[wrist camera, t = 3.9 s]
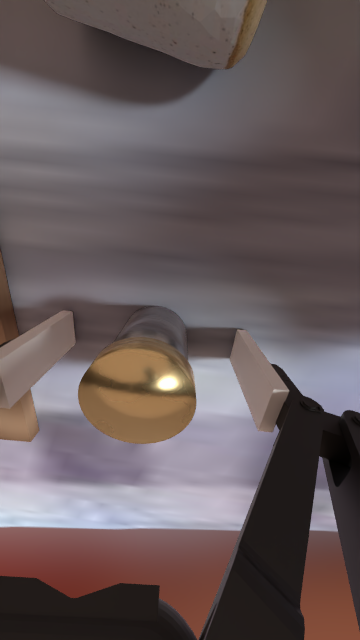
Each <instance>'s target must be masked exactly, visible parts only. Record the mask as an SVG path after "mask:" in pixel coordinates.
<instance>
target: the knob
mask: <svg viewBox="0 0 360 640" xmlns="http://www.w3.org/2000/svg"><path fill="white" fill-rule="evenodd" d="M78 399H79V404H80V407H81V410H82V411H83V413H84V415H85V416H86V418H87V419H88V420H89V422H90V423H91V424H92V425H93V426H95V427H96V428H97V429H98V430H100V431H101V432H103V433H104V434H106V435H108V436H110V437H112V438H115V439H117V440H121V441H124V442H129V443H137V444H147V443H156V442H160V441H164V440H167V439H169V438H171V437H173V436H175V435H177V434H178V433H180V432H181V431H182V430H183V429H185V428H186V426H187V425H188V424H189V423H190V421H191V420H192V418H193V416H194V413H195V409H196V392H195V381H194V374H193V371H192V368H191V366H190V364H189V362H188V356H187V335H186V328H185V325H184V323H183V321H182V320H181V318H180V317H179V316H178V315H177V314H176V313H174V312H173V311H171V310H169V309H167V308H164V307H160V306H149V307H145V308H142V309H140V310H138V311H136V312H135V313H134V314H133V315H132V316H131V317H130V318H129V320H128V321H127V323H126V325H125V326H124V328H123V329H122V331H121V332H120V334H119V335H118V337H117V338H116V340H115V341H114V343H112V344H110V345H109V346H107V347H106V348H104V349H103V350H102V351H101V352H100V353H99V355H98V356H97V357H96V359H95V360H94V361H93V363H92V364H91V366H90V367H89V368H88V370H87V371H86V373H85V374H84V376H83V377H82V379H81V382H80V385H79V389H78Z"/></svg>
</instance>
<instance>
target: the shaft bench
mask: <svg viewBox="0 0 360 640" xmlns="http://www.w3.org/2000/svg"><path fill="white" fill-rule="evenodd" d="M17 337H19V334H18V329H17V324H16V320H15V315H14V310H13V306H12V301H11V296H10V292H9V287H8V282H7V278H6V273H5V268H4V264H3V259H2V254H1V250H0V345H1V344H2V343H4V342H6V341H9V340H12V339H15V338H17ZM38 431H39V427H38V422H37V417H36V413H35V408H34V403H33V399H32V394H31V389H29V390H28V391H27V392H26V393H25V394H24V395H23V396H22V397H21V398H20V399H19V400H18V401H17V402H16V403H15V404H14V405H13V406H12V407H11V408H10V409H9V408H0V439H4V440H15V441H27V442H31V441H32V440H33V438H34V437H35V435H36V434H37V433H38Z"/></svg>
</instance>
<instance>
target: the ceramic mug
mask: <svg viewBox="0 0 360 640" xmlns="http://www.w3.org/2000/svg"><path fill="white" fill-rule="evenodd" d="M44 2H46V3H47V4H48V5H49V6H50V7H51V8H52V9H53V10H54V11H55V12H56V13H57V14H59V15H62V16H64V17H67V18H69V19H72V20H75V21H78V22H80V23H83V24H86V25H89V26H92V27H95V28H98V29H101V30H104V31H107V32H110V33H112V34H114V35H117V36H119V37H121V38H124V39H126V40H129V41H132V42H135V43H137V44H140V45H143V46H146V47H149V48H152V49H155V50H158V51H161V52H164V53H166V54H168V55H170V56H173V57H175V58H177V59H180V60H182V61H184V62H187V63H190V64H193V65H196V66H198V67H205V68H213V69H229V68H232V67H233V66H234V65H235V64H236V63H237V62H238V61H239V60H241V59H242V58H243V57H244V56H245V54H246V52H247V50H248V48H249V46H250V44H251V42H252V40H253V37H254V35H255V32H256V30H257V27H258V25H259V22H260V19H261V16H262V14H263V11H264V8H265V5H266V3H267V0H44Z"/></svg>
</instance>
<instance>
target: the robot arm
mask: <svg viewBox="0 0 360 640" xmlns="http://www.w3.org/2000/svg"><path fill="white" fill-rule="evenodd" d="M75 344H76V342H75V331H74V321H73V312H72V311H63V310H62V311H61V312H59V313H57V314H56V315H54V316H52V317H51V318H49V319H47V320H46V321H44V322H42V323H41V324H39V325H37V326H36V327H34V328H32V329H31V330H29V331H27V332H26V333H24V334H22V335H21V336H19V337H17V338H15V339H12V340H9V341H6V342H4V343H2V344H1V345H0V408H9V409H10V408H11V407H12V406H13V405H14V404H15V403H16V402H17V401H18V400H19V399H20V398H21V397H22V396H23V395H24V394H25V393H26V392H27V391H28V390H29V389H30V388H31V387H32V386H33V385H34V384H35V383H36V382H37V381H38V380H39V379H40V378H41V377H42V376H43V375H44V374H45V373H46V372H47V371H48V370H49V369H50V368H51V367H52V366H53V365H54V364H55V363H56V362H57V361H59V360H60V359H61V358H62V357H63V356H64V355H65V354H66V353H67V352H68V351H69V350H70V349H71V348H72V347H73V346H74V345H75ZM230 361H231V364H232V366H233V369H234V371H235V374H236V376H237V379H238V381H239V384H240V387H241V389H242V392H243V394H244V397H245V399H246V402H247V404H248V407H249V409H250V412H251V414H252V417H253V419H254V422H255V424H256V427H257V429H258V431H264V432H273V430H274V427H275V425H277V427H278V428H279V430H280V431H279V433H278V436H277V438H276V440H275V443H274V445H273V449H272V451H271V454H270V456H269V459H268V462H267V464H266V467H265V469H264V472H263V475H262V477H261V480H260V482H259V485H258V488H257V490H256V493H255V495H254V498H253V501H252V503H251V506H250V509H249V511H248V514H247V516H246V519H245V522H244V524H243V527H242V529H241V532H240V535H239V537H238V540H237V543H236V545H235V548H234V550H233V553H232V555H231V558H230V561H229V563H228V566H227V568H226V571H225V574H224V576H223V579H222V582H221V584H220V587H219V589H218V592H217V594H216V597H215V599H214V602H213V604H212V607H211V609H210V612H209V614H208V617H207V619H206V622H205V624H204V627H203V629H202V632H201V635H200V637H199V640H304V631H305V627H304V617H303V615H302V613H301V610H300V598H301V590H302V582H303V574H304V566H305V560H306V552H307V544H308V537H309V529H310V522H311V514H312V507H313V499H314V491H315V484H316V476H317V469H318V461H319V456H320V457H322V458H323V463H324V468H325V472H326V477H327V481H328V486H329V491H330V495H331V500H332V505H333V509H334V514H335V519H336V523H337V528H338V533H339V537H340V541H341V546H342V551H343V555H344V560H345V565H346V570H347V574H348V579H349V584H350V588H351V593H352V597H353V602H354V607H355V611H356V616H357V620H358V625H359V630H360V413H358V412H355V411H351V410H346V411H345V412H343V414H342V416H341V417H340V416H336V415H333V414H330V413H327V412H324V409H323V408H322V407H321V405H319V404H318V403H317V402H316V401H314V400H312V399H311V398H308V397H305V396H303V395H302V394H301V393H300V391H299V390H298V389H297V387H296V386H295V385H294V383H293V382H292V381H291V380H290V378H289V377H287V374H286V373H285V372H284V371H283V369H281V368H280V367H279V366H277V365H276V364H270V363H269V361H268V360H267V358H266V357H265V355H264V354H263V353H262V351H261V350H260V348H259V347H258V346H257V344H256V343H255V341H254V340H253V339H252V337H251V336H250V334H249V333H248V331H247V330H238V329H237V332H236V336H235V340H234V344H233V348H232V352H231V356H230ZM159 587H160V586H158V585H142V584H141V585H140V584H124V583H120V584H117V585H114V586H111V587H108V588H105V589H102V590H99V591H96V592H93V593H90V594H88V595H85V596H81V597H79V598H70V597H68V596H66V595H65V594H63V593H61V592H59V591H58V590H56V589H54V588H52V587H51V586H49V585H47V584H46V583H44V582H42V581H40V580H39V579H37V578H24V577H7V576H0V640H197V639H196V637H195V635H194V633H193V631H192V630H191V628H190V627H189V625H188V624H187V623H186V621H185V620H184V619H183V617H182V616H181V615H180V614H179V613H178V612H177V611H176V610H175V609H174V608H173V607H171V606H170V605H169V604H168V603H166V602H164V601H163V600H161V599H159Z"/></svg>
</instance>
